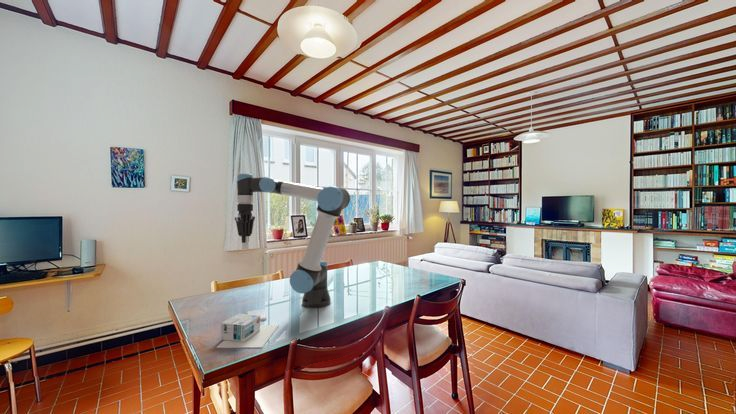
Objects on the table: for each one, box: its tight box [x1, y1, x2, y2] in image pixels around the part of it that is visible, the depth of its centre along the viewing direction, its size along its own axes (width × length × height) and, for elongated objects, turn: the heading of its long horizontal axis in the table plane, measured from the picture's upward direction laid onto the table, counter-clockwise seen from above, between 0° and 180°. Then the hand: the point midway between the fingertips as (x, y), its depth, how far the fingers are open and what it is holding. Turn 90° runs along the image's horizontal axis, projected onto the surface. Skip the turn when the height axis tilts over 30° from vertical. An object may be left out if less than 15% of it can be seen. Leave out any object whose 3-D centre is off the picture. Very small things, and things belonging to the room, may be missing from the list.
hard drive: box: [246, 308, 267, 322], centre depth 132 cm, size 2×8×12 cm
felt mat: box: [216, 324, 280, 349], centre depth 112 cm, size 17×19×1 cm
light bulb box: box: [220, 312, 261, 342], centre depth 112 cm, size 11×7×11 cm
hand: (245, 248), depth 145 cm, fingers closed
